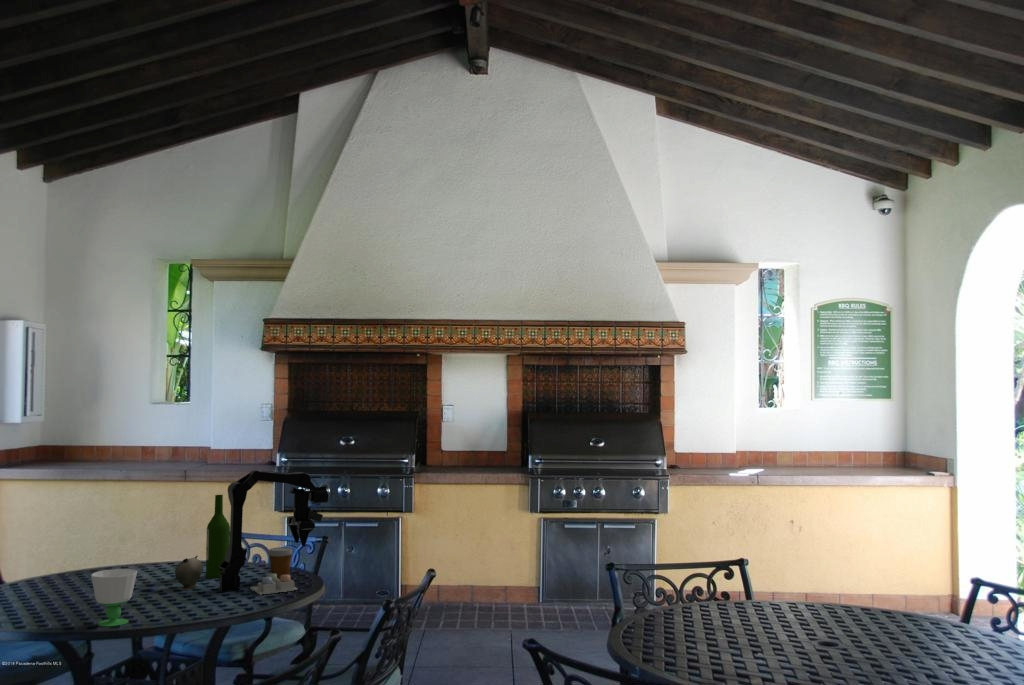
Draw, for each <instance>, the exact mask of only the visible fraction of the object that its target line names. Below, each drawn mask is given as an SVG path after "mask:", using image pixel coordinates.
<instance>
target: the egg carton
mask: <svg viewBox="0 0 1024 685" xmlns="http://www.w3.org/2000/svg"><path fill="white" fill-rule="evenodd" d="M295 585H296V584H295V581H294V580H293V579H291V578H290V582H280V579H278V578H277V580H275V581H272V584H265V585H263V584H262V581H260V582H257V586H250V589H252V590H253V591H255V592H257V593H259V594H260V595H262V594H270V593H278V592H287V591H294V590H298V589H299V588H298V587H295ZM250 589H249V590H250ZM253 591H252V592H253ZM255 592H254V593H255ZM260 595H259V596H260Z"/></svg>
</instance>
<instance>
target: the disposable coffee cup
mask: <svg viewBox="0 0 1024 685" xmlns="http://www.w3.org/2000/svg"><path fill="white" fill-rule="evenodd" d="M293 552H294V551H293V549H292V548H291V547H289V546H287V547H286V546H285V547H284V546H281V547H280V546H279V547H272V548H269V549H268V552H267V553H268V556H269V565H270V566H269V567H270V573H276V574H277V578H278V579H280V578H281V575H290V568H291V563H292V561H291V560H292V555H293Z"/></svg>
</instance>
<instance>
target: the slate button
mask: <svg viewBox="0 0 1024 685" xmlns="http://www.w3.org/2000/svg"><path fill="white" fill-rule="evenodd" d="M261 582H262V584H263V585H265V584H272V577H267V576H262V577H261Z"/></svg>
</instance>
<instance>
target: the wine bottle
mask: <svg viewBox="0 0 1024 685" xmlns="http://www.w3.org/2000/svg"><path fill="white" fill-rule="evenodd" d="M223 495H224V494H216V495H214V496H215V497H214V514H213V516H212V518H211V519H210V521H209V522H208V523H207V527H206V545H205V546H206V547H205V548H206V550H205V578H206V577H208V578H207V579H210V578H218V579H220V573H222V572H221V571H220V569H219V566H220V565H221V564H222V562H223V561H224V560H225V557H226V552H227V549H228V547H229V543H230V522H229V521H228V520H227V518H226V516H225V515H224V506H223V505H224V502H223V500H224V498H223V497H224V496H223Z"/></svg>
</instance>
